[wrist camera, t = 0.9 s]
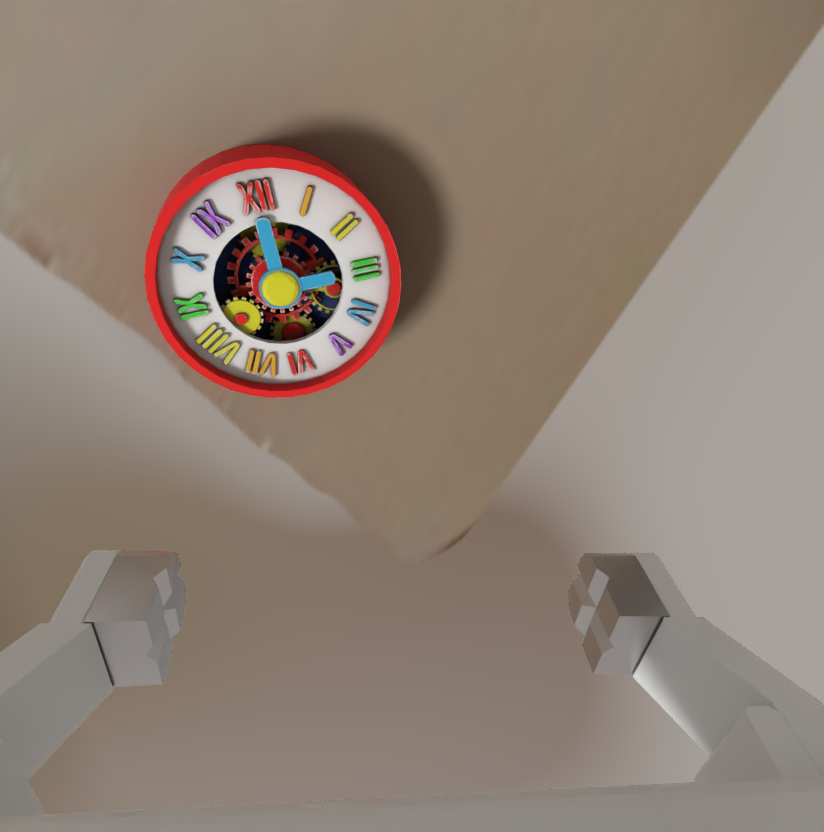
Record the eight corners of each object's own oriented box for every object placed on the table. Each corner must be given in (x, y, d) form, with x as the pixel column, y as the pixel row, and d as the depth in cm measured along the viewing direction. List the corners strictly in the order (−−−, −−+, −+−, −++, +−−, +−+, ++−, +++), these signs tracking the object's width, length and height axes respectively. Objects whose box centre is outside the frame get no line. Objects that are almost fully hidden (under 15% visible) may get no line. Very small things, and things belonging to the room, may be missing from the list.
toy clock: (198, 421, 48) (94, 185, 37) (201, 387, 53) (110, 168, 41) (414, 368, 51) (383, 134, 39) (398, 340, 56) (367, 123, 44)
